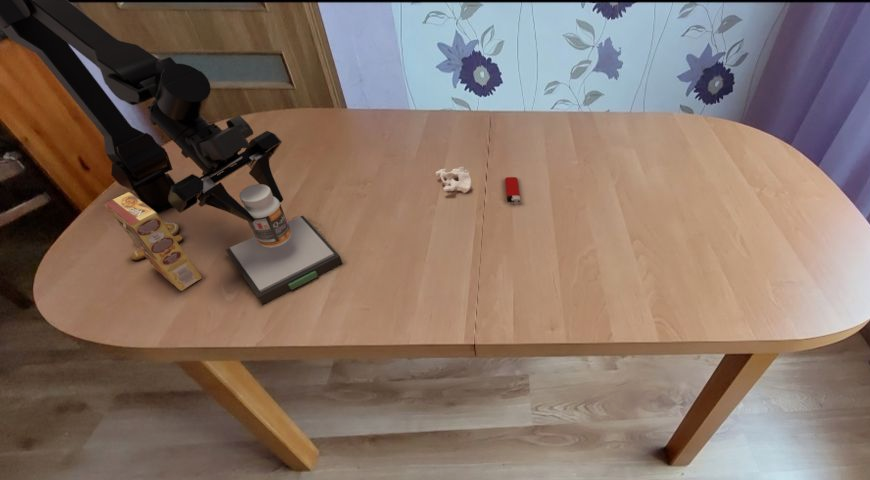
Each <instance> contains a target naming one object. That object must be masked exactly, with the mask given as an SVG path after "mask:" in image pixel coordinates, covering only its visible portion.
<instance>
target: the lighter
mask: <svg viewBox="0 0 870 480" xmlns="http://www.w3.org/2000/svg"><path fill="white" fill-rule="evenodd" d="M504 183H505V193H506V194H505V195H506V201H507V202H508V203H511V204H513V205H520V204H521V196H520V188H519V181H518V177H516V176H507V177H505V178H504Z"/></svg>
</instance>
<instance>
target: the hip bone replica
mask: <svg viewBox="0 0 870 480" xmlns="http://www.w3.org/2000/svg"><path fill="white" fill-rule="evenodd" d="M446 171H447V169H446V168H441V169H439V170H437V171H435V175H436V177H440V179H441V182H442V183H443V185H444V187H443V188H442V190H443V192H444V193H445V192H453V191H457V192H459V191H460V192H462V193H463V194H466V193H467V192H469V191H470V189H471V188H472V179H471V177H470V172H469V169H466V168H465V167H463V166H459V167H457V168H452V170H450V171H448V172H446ZM444 178H445V179H444ZM454 178H455V179H457V178H458V181H457V180H455V179H454Z"/></svg>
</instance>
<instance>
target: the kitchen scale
mask: <svg viewBox="0 0 870 480" xmlns="http://www.w3.org/2000/svg"><path fill="white" fill-rule="evenodd" d="M287 222H288V224H289V227H290V230H291V237H290V239H289V240H288V241H287V242H286V243H284V244H283V245H280V246H278V247H272V248H270V247H264V246H262V245H260V244H259V243H258V241H257V239H256V237H255V236H252V237H250V238H247V239H246V240H243V241H241V242H239V243H237V244H234V245H232V246H230V247H229V248H226V249H225V251H226V253H227V255H228V257H229V258H230V260H231V261H232V262H233V264H234V266H235V267H236V268H237V270H238V271H239V273H240V274H241V276H242V277H243V279H244V280H245V282H246V283H247V285H248V286H249V287H250V288H251V290H252V291H253V294H254V295H255V296H256V297H257V299H258V301H259V302H260V304H262V305H265V304H266V303H268V302H270V301H272V300H275V299H277V298H278V297H280V296H282V295H284V294H286V293H288V292H290V291H293V290H294V289H296V288H299V287H301V286H303V285H304V284H306V283H308V282H310V281H312V280H314V279H316V278H318V277H319V276H321V275H323V274H325V273H327V272H329V271H331V270H333V269H335V268H337V267H338V266H339V267H340V266H341V265H343V262H342V258H341V256H340V254H339V253H338V252H337V251H336V250H335V249H334V248H333V247H332V245H330V244H329V242H328V241H327V240H326V239H325V238H324V237H323V235H322V234H321V233H320V232H319V231H318V230H317V229H316V228H315V227H314V226H313V225H312V224H311V223H310V221H309V220H307V218H306V217H305V216H304V215H300V216H298V217H295V218H292V219H291V220H288V221H287Z"/></svg>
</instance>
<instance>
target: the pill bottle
mask: <svg viewBox="0 0 870 480" xmlns="http://www.w3.org/2000/svg"><path fill="white" fill-rule="evenodd" d="M239 198H240V201H241V203H242V207H243V208H245V209H246V210H247V211H248V212H249V213H250V214H251V216H252V217H253V218H254V219H255V221H254V222H253V223H251V222H249V221H247V223H248V225H249V227H250V229H251V231H252V234H253V235H254V237H256V239H257V241H258V243H259V244H260V245H262V246H264V247H270V248H272V247H278V246H280V245H283V244H284V243H286V242H287V241H288V240H289V239H290V237H291V230H290V227H289V224H288V222H289V221H288V220H287V217H286V213H285V212H284V209H283V207H282V204H281V203H280V202H279V200H278V199H277V198H276V197H274V196H273V195H272V192H271V190H270V188H269V187H268V186H267V185H263V184H259V183H256V184H251V185H249V186H246V187H244V188H243V189H242V190H241V191H240V193H239Z"/></svg>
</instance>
